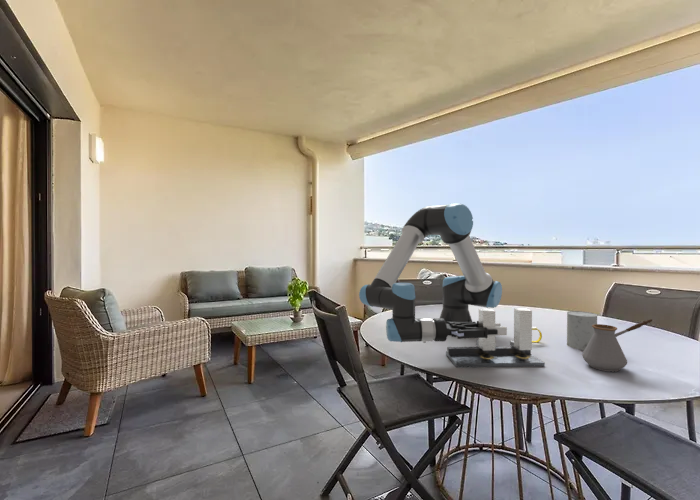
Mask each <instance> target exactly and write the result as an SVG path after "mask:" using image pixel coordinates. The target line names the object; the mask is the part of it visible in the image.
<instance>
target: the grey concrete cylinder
mask: <svg viewBox="0 0 700 500" xmlns="http://www.w3.org/2000/svg"><path fill="white" fill-rule="evenodd" d="M566 315H567V316H566V346H567V347H569V348H571V349H576V350H581V351H584V350H585V348H586V347H587V345H588V343H589V341H590V339H591V338H592V336H593V334H594V332H595V331H594V328H593V327H592V325H594V324H598V314H597V313H593V312H589V311H582V310H581V311H579V310H578V311H577V310H575V311H574V310H571V311H570V310H569V311H567V312H566Z"/></svg>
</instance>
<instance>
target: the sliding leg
mask: <svg viewBox="0 0 700 500" xmlns="http://www.w3.org/2000/svg"><path fill="white" fill-rule="evenodd" d="M478 321H479V328H486V327H495V323H496V310H494V309H493V308H478ZM475 346H476V347H479V348H480V349H482V350H483V351H485V355H486V356H489V350H495V347H496V336H488V337H487V338H478V339H476V340H475Z"/></svg>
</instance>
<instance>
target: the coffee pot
mask: <svg viewBox="0 0 700 500" xmlns="http://www.w3.org/2000/svg"><path fill="white" fill-rule="evenodd" d="M652 322H654V324H653V323H652ZM648 324H650V325H652V326H656V325H657V323H656V322H655V320H653V319H651V318H650V319H647V320H644V321H642V322H639V323H636V324H634V325H632V326H630V327H628V328H626V329H624V330H621V331H619V332H616V331H617V330H618V327H617V326H613V325H608V324H598V323H597V324H594V325H592V327H593V328H594V331H595V332H594V334H593V336H592V338H591V339H590V341H589V343H588V345H587V347H586V348H585V350H583V351H582V358H583V360H584V362H585V363H586V364H588V366H590V367H591V368H593V369H595V370H599V371H604V372H610V371H612V372H613V373H614V371H615V372H619V371H620V370H621V369H624V368H625V367H626V366H627V365H628V359H627V357H626V356H625V353H624V351H623V350H622V347H621V345H620V343H619V341H618V339H617V337H619V336H622V335H623V334H626V333H629V332H631V331H634V330H636V329H640V328H642V327H644V326H647V325H648ZM612 372H611V373H612Z"/></svg>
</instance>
